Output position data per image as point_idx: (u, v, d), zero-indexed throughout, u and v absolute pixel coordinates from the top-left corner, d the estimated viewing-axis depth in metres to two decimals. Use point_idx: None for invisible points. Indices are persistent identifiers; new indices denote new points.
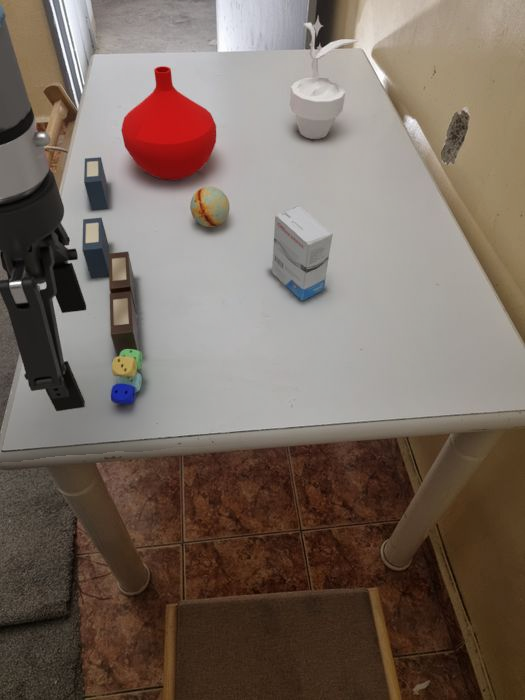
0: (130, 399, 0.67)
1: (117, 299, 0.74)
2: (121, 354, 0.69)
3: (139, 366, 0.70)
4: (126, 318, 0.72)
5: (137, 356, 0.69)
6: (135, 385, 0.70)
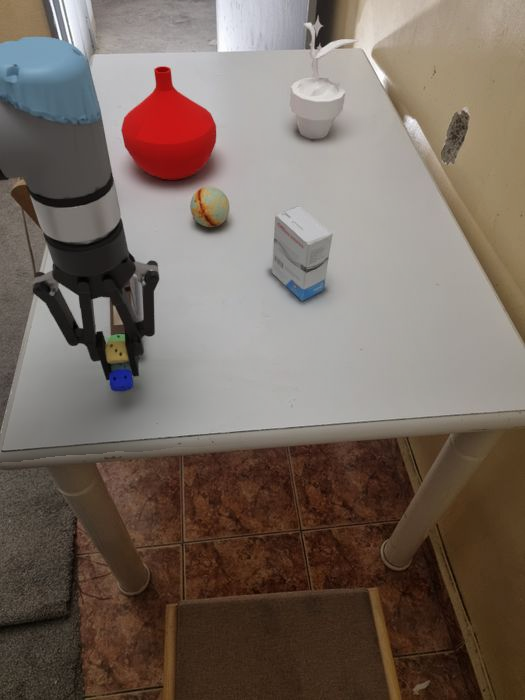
0: (131, 383, 0.65)
1: None
2: (109, 341, 0.67)
3: None
4: None
5: None
6: (130, 370, 0.67)
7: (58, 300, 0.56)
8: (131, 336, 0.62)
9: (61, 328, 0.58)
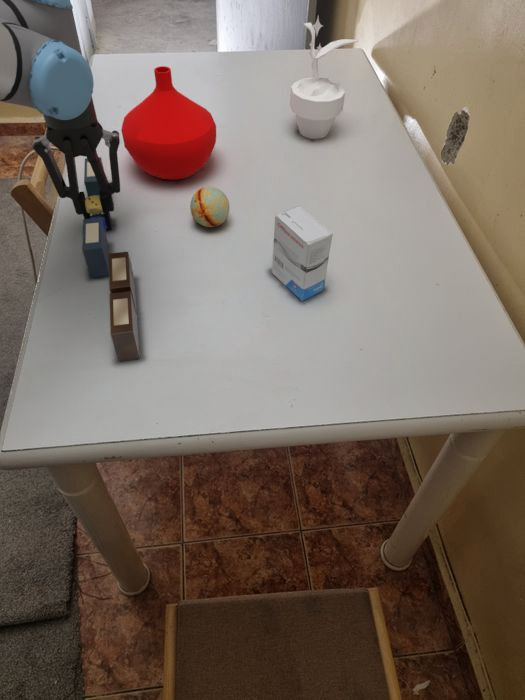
0: (104, 227, 0.90)
1: (117, 299, 0.74)
2: None
3: None
4: (126, 318, 0.72)
5: None
6: (104, 221, 0.92)
7: (51, 158, 0.82)
8: (103, 192, 0.87)
9: (54, 181, 0.84)
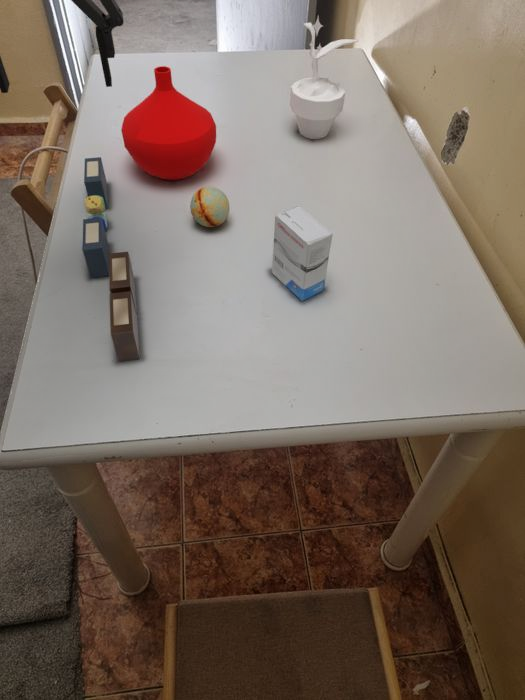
0: (104, 227, 0.90)
1: (117, 299, 0.74)
2: None
3: (104, 208, 0.93)
4: (126, 318, 0.72)
5: (101, 199, 0.92)
6: (104, 221, 0.92)
7: None
8: (100, 25, 0.65)
9: None
